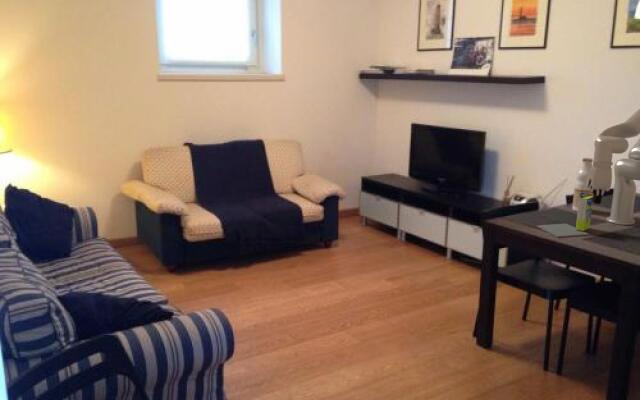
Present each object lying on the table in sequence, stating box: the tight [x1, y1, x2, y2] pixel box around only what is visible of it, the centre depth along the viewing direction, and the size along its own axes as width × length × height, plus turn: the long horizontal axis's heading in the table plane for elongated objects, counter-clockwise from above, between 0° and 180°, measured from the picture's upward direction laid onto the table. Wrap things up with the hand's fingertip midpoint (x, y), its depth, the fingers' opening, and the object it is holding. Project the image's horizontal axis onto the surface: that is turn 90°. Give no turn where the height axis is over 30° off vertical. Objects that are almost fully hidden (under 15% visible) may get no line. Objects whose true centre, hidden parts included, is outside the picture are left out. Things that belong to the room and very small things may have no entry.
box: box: [575, 192, 594, 232], centre depth 258 cm, size 10×4×17 cm, turn 139°
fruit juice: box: [571, 157, 594, 212], centre depth 290 cm, size 9×9×28 cm
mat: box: [536, 223, 590, 238], centre depth 259 cm, size 16×17×1 cm
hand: (596, 203), depth 258 cm, fingers closed
